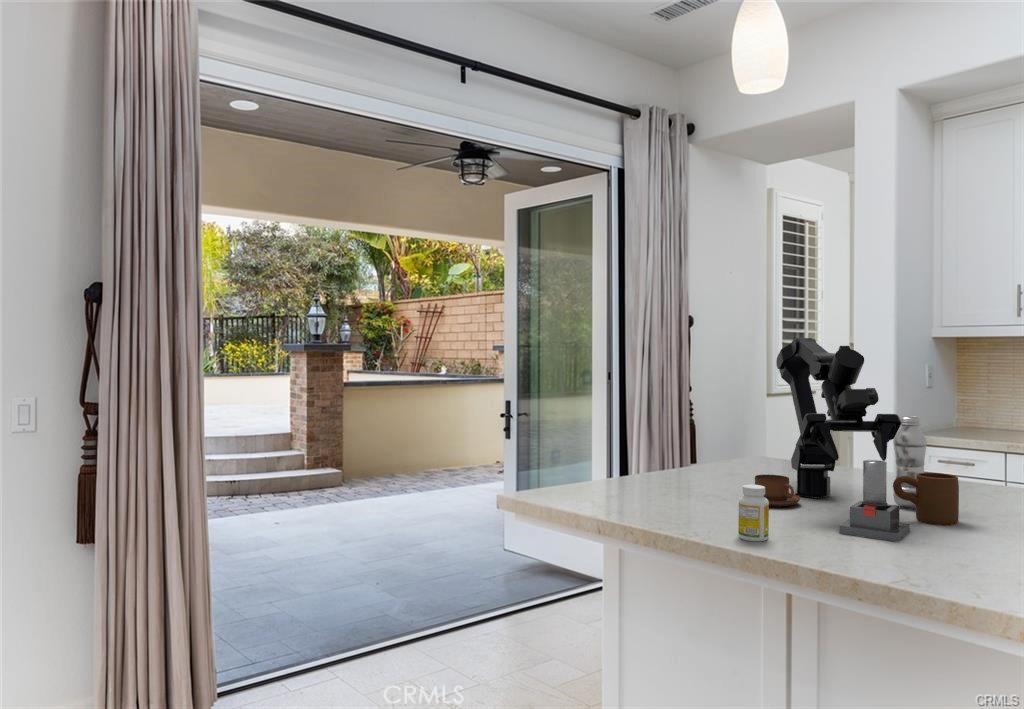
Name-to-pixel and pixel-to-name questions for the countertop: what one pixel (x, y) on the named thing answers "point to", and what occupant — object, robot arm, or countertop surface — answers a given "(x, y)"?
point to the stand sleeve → (875, 523)
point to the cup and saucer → (777, 490)
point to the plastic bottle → (909, 455)
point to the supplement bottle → (753, 514)
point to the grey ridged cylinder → (874, 483)
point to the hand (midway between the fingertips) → (860, 459)
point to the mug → (932, 497)
